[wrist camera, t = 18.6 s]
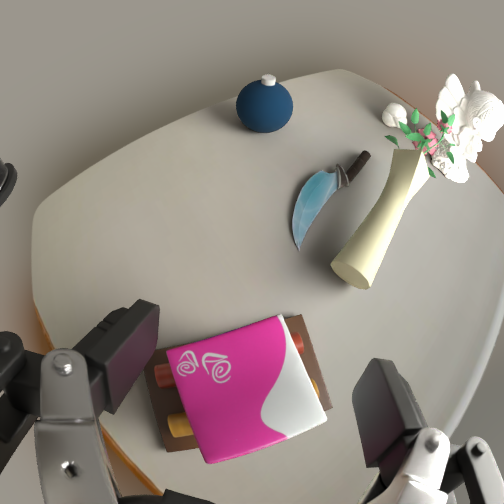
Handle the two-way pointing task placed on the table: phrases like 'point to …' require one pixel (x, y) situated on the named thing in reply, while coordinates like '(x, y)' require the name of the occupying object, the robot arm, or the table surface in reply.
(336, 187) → the knife
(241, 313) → the table surface
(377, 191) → the table surface
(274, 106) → the christmas ornament
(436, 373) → the table surface
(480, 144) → the cherub figurine
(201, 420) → the supplement box
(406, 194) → the flower vase
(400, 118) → the microfossil shell
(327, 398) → the rod rack
